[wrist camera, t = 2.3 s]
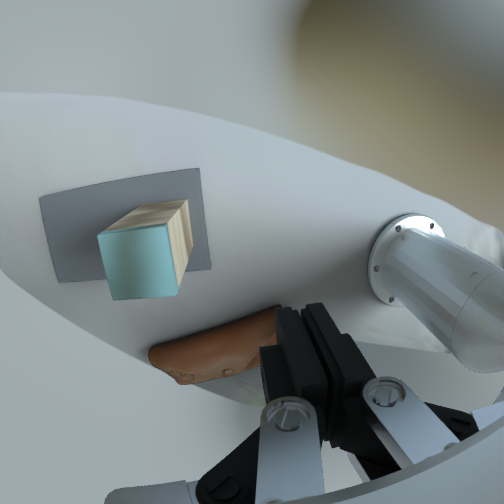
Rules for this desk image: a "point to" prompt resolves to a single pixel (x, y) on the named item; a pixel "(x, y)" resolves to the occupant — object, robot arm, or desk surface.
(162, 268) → the wooden block
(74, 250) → the charcoal mat
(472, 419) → the robot arm
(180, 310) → the desk surface
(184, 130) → the desk surface
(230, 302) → the desk surface
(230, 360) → the sunglasses case
